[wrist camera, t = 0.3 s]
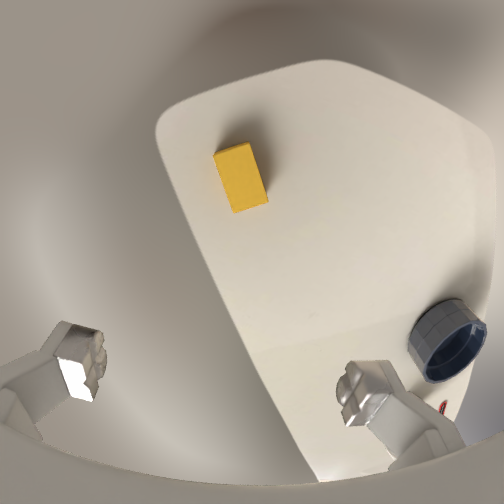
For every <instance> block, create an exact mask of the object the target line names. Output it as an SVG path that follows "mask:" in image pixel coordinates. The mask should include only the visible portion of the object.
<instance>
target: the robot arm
mask: <svg viewBox="0 0 504 504" xmlns="http://www.w3.org/2000/svg"><path fill="white" fill-rule="evenodd" d="M103 342H104V336H103V333H102V332H101V331H98V330H95V329H91V328H87V327H83V326H80V325H76V324H72V323H68V322H65V321H61V322H59V323H58V324H57V326H56V327H55V328H54V330H53V331H52V333H51V334H50V336H49V337H48V339H47V340H46V342H45V343H44V345H43V346H42V348H41V349H40V351H36V350H35V351H33V352H31V353H29V354H27V355H25V356H23V357H20V358H18V359H16V360H14V361H12V362H10V363H8V364H6V365H4V366H2V367H0V504H504V430H503V431H501V432H499V433H497V434H495V435H493V436H491V437H489V438H486V439H484V440H482V441H480V442H477V443H475V444H473V445H470V446H468V447H466V445H465V443H464V441H463V439H462V437H461V435H460V433H459V432H458V430H457V428H456V426H455V424H454V422H452V421H451V420H450V419H448V418H447V417H445V416H444V415H442V414H441V413H440V412H438V411H437V410H435V409H434V408H432V407H431V406H430V405H428V404H427V403H425V402H424V401H423V400H421V399H420V398H418V397H417V396H415V395H414V394H413V393H411V392H410V391H406V390H405V388H404V386H403V384H402V382H401V381H400V379H399V377H398V375H397V373H396V371H395V369H394V368H393V366H392V364H391V362H390V361H388V360H375V361H374V360H371V361H350V362H349V363H348V364H347V366H346V368H345V370H346V374H344V375H343V376H341V377H340V379H339V381H338V383H337V388H336V397H337V400H338V403H340V404H341V405H342V406H343V409H342V411H341V413H342V416H343V419H344V422H345V425H346V427H347V426H362V425H367V427H368V428H369V429H370V430H371V431H372V432H373V433H374V434H375V435H376V437H377V438H378V439H379V440H380V441H381V442H382V443H383V444H384V445H385V446H386V447H387V448H388V449H389V450H390V451H391V452H392V453H393V454H394V455H395V456H396V457H397V459H396V460H395V461H394V462H393V463H392V464H391V465H390V466H389V468H388V470H389V471H387V472H383V473H378V474H373V475H368V476H363V477H357V478H351V479H344V480H337V481H329V482H320V483H309V484H297V485H269V486H268V485H265V486H258V485H255V486H253V485H227V484H212V483H202V482H192V481H185V480H178V479H171V478H165V477H159V476H153V475H149V474H143V473H139V472H134V471H130V470H126V469H122V468H118V467H113V466H110V465H106V464H103V463H99V462H96V461H93V460H90V459H87V458H83V457H81V456H77V455H75V454H72V453H69V452H66V451H64V450H61V449H58V448H56V447H53V446H51V445H48V444H46V443H43V442H42V440H43V438H42V435H41V434H40V432H39V431H38V429H37V428H36V426H35V425H34V424H35V423H36V422H38V421H39V420H41V419H42V418H43V417H44V416H46V415H47V414H48V413H50V412H51V411H52V410H54V409H55V408H56V407H57V406H59V405H60V404H61V403H63V402H64V401H65V400H66V399H68V398H69V397H70V396H74V397H77V398H81V399H84V400H88V401H92V402H93V400H94V398H95V395H96V393H97V390H98V388H99V386H98V382H97V380H99V379H100V378H102V377H103V375H104V373H105V370H106V364H107V354H106V350H105V349H104V348H103V346H102V344H103Z"/></svg>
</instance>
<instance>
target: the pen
mask: <svg viewBox="0 0 504 504" xmlns="http://www.w3.org/2000/svg"><path fill="white" fill-rule="evenodd" d="M446 404H447V403H446V402H444V403H443V404H442V405H441V406H440V409H439V412H440V413H441V410H442V407H443V405H444V407H443V410H442V415H443V414H444V411H445V408H446Z"/></svg>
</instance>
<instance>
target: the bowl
mask: <svg viewBox="0 0 504 504" xmlns="http://www.w3.org/2000/svg"><path fill="white" fill-rule="evenodd" d="M486 335H487V330H486V324H485V323H484V322H483V321H482V320H481V319H480V318H479V317H478V316H477V315H476V314H475V313H474V311H473V310H472V309H471V308H470V307H469V306H468V305H467V304H466V303H464V302H463V301H462V300H453V299H451V300H448V301H444V302H442V303H440V304H438V305H436V306H434V307H433V308H431V309H430V310H429V311H428V312H427V313H425V314H424V315H423V317H422V318H421V319H420V320H419V321H418V323H417V324H416V326H415V327H414V329H413V331H412V334H411V336H410V338H409V343H408V352H409V354H410V356H411V358H412V359H413V361H414V363H415V364H416V366H417V367H418V369H419V371H420V373H421V374H422V376H423V378H424V379H425V381H426V382H429V383H433V384H435V383H440V382H444V381H446V380H448V379H450V378H452V377H454V376H456V375H457V374H459V373H460V372H461V371H462V370H464V369H465V368H466V367H467V366H468V365H469V364H470V363H471V362H472V361H473V360H474V359H475V357H476V356H477V355H478V353H479V351H480V350H481V348H482V346H483V344H484V342H485V338H486Z"/></svg>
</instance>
